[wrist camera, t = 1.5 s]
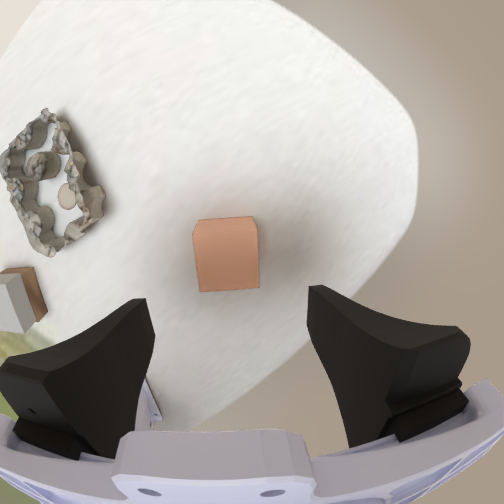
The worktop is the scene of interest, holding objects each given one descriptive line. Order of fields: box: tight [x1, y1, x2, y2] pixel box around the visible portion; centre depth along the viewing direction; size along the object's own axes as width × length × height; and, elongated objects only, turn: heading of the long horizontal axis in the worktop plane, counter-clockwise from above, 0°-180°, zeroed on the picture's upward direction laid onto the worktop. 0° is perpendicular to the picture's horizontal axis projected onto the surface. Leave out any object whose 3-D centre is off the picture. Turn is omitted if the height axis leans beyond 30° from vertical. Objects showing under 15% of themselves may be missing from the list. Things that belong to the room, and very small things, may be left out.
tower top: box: [0, 273, 37, 334], centre depth 17 cm, size 5×5×2 cm
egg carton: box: [0, 108, 105, 258], centre depth 16 cm, size 11×8×4 cm
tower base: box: [0, 267, 48, 322], centre depth 20 cm, size 5×5×2 cm
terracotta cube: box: [192, 216, 260, 292], centre depth 19 cm, size 4×4×4 cm
